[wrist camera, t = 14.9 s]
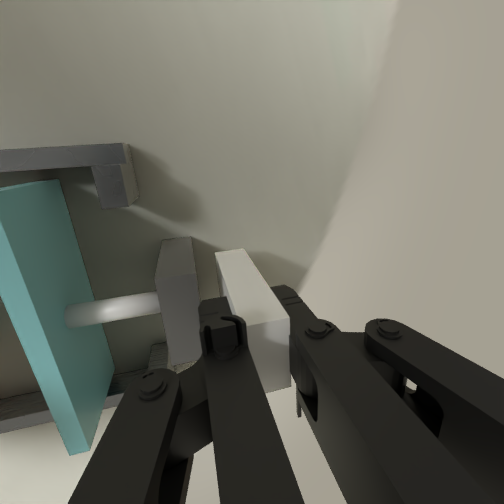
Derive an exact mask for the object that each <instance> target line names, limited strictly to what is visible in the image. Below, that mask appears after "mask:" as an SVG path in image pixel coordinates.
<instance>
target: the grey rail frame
mask: <svg viewBox="0 0 504 504" xmlns="http://www.w3.org/2000/svg"><path fill="white" fill-rule="evenodd" d="M96 165H98V166H96ZM82 166H91V169H92V173H93V177H94V181H95V185H96V188H97V192H98V196H99V200H100V204H101V208H102V209H111V208H121V207H129V206H130V205H131V204H132V203H133V202H134V201H135V200H136V199H137V198H138V197H139V192H138V187H137V182H136V177H135V172H134V167H133V162H132V157H131V153H130V148H129V144H125V143H114V144H97V145H79V146H61V147H43V148H26V149H8V150H0V172H10V171H25V170H39V169H53V168H67V167H82ZM158 368H165V369H170V370H172V371H174V372H175V369H174V365H173V366H172V364H171V359H170V354H169V349H168V344H167V342H165V343H160V344H155V345H152V347H151V353H150V360H149V367H148V368H146V369H141V370H137V371H132V372H127V373H123V374H118V375H113V377H112V380H111V383H110V386H109V390H108V393H107V396H106V399H105V403H104V406H103V409H107V408H111V407H115V406H118V405H119V403H120V401H121V399H122V397H123V395H124V393H125V391H126V389H127V388H128V386H129V385H130V384H131V382H132V381H133V380H134V379H136V378H137V377H138V376H140V375H141V374H143V373H145V372H147V371H150V370H153V369H158ZM103 409H102V410H103ZM52 421H54V419H53V416H52V414H51V412H50V409H49V407H48V405H47V403H46V400H45V398H44V396H43V393H42V391H38V392H34V393H29V394H24V395H20V396H15V397H10V398H6V399H1V400H0V434H1V433H5V432H9V431H13V430H18V429H22V428H26V427H30V426H35V425H39V424H43V423H47V422H52Z"/></svg>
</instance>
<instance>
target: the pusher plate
mask: <svg viewBox="0 0 504 504" xmlns="http://www.w3.org/2000/svg"><path fill="white" fill-rule="evenodd" d="M154 281H155V286H156V291H153V292H147V293H140V294H134V295H128V296H122V297H116V298H109V299H103V300H97V301H95V299H94V296H93V292H92V289H91V286H90V282H89V279H88V276H87V272H86V269H85V266H84V262H83V259H82V255H81V252H80V249H79V245H78V242H77V239H76V235H75V232H74V229H73V225H72V222H71V218H70V215H69V212H68V208H67V205H66V202H65V198H64V195H63V192H62V188H61V185H60V182H59V179H52V180H40V181H34V182H29V183H23V184H18V185H13V186H8V187H2V188H0V296H1V298H2V300H3V303H4V305H5V307H6V310H7V312H8V314H9V317H10V319H11V321H12V324H13V326H14V328H15V331H16V333H17V335H18V338H19V340H20V342H21V345H22V347H23V349H24V351H25V354H26V356H27V358H28V361H29V363H30V365H31V368H32V370H33V372H34V375H35V377H36V379H37V382H38V384H39V386H40V389H41V391H42V393H43V396H44V398H45V400H46V403H47V405H48V407H49V409H50V412H51V414H52V416H53V419H54V421H55V423H56V426H57V428H58V430H59V433H60V435H61V437H62V440H63V442H64V444H65V447H66V449H67V451H68V454H69V456H71V455H74V454H78V453H82V452H86V451H90V449H91V445H92V442H93V439H94V435H95V432H96V429H97V426H98V422H99V419H100V416H101V413H102V409H103V406H104V403H105V399H106V396H107V393H108V390H109V386H110V383H111V380H112V377H113V373H114V370H115V366H114V363H113V360H112V356H111V353H110V349H109V346H108V343H107V339H106V336H105V333H104V329H103V326H102V323H105V322H111V321H116V320H122V319H128V318H133V317H139V316H144V315H150V314H156V313H161V315H162V320H163V325H164V330H165V334H166V339H167V344H168V349H169V354H170V359H171V364H172V366H173V365H178V364H182V363H187V362H192V361H196V360H199V358H200V357H201V354H202V348H201V342H200V335H199V330H200V322H199V313H198V307H199V305H200V303H201V302H200V295H199V288H198V281H197V274H196V268H195V261H194V254H193V247H192V240H191V237H183V238H175V239H168V240H162V244H161V249H160V254H159V259H158V263H157V268H156V273H155V278H154Z"/></svg>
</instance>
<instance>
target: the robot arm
mask: <svg viewBox="0 0 504 504" xmlns="http://www.w3.org/2000/svg"><path fill="white" fill-rule="evenodd" d="M215 259H216V267H217V276H218V284H219V292H220V297H218V298H213V299H207V300H202V302H201V303H200V305H199V307H198V313H199V322H200V330H199V335H200V342H201V348H202V354H201V357H200V358H199V360H198V361H197V362H196V363H195V364H194V365H193V366H191V367H190V368H188V369H186V370H185V371H183V372H181V373H178V374H176V372H174V371H172V370H170V369H165V368H158V369H153V370H150V371H147V372H145V373H143V374H141V375H140V376H138V377H137V378H136V379H134V380H133V381H132V382H131V384H130V385H129V386H128V388H127V389H126V391H125V393H124V395H123V397H122V399H121V401H120V403H119V405H118V407H117V408H116V410H115V412H114V414H113V416H112V418H111V420H110V422H109V424H108V426H107V428H106V430H105V432H104V434H103V436H102V438H101V440H100V442H99V443H98V445H97V447H96V449H95V451H94V453H93V455H92V457H91V459H90V461H89V463H88V465H87V467H86V469H85V471H84V473H83V475H82V477H81V478H80V480H79V482H78V484H77V486H76V488H75V490H74V492H73V494H72V496H71V498H70V500H69V502H68V504H185V502H186V496H187V491H188V485H189V480H190V474H191V469H192V464H193V458H194V453H196V452H197V451H199V450H200V449H202V448H203V447H205V446H206V445H208V444H209V443H211V442H212V441H213V446H214V454H215V463H216V471H217V480H218V488H219V497H220V504H305V503H304V501H303V498H302V495H301V492H300V489H299V487H298V484H297V481H296V478H295V475H294V473H293V470H292V467H291V464H290V461H289V459H288V456H287V453H286V450H285V448H284V445H283V442H282V439H281V436H280V434H279V431H278V428H277V425H276V423H275V420H274V417H273V414H272V411H271V409H270V406H269V403H268V400H267V398H266V395H265V393H268V392H272V391H276V390H279V389H284V388H288V387H291V375H292V377H293V379H294V380H295V383H296V399H297V415H298V417H301V408H302V410H303V412H304V414H305V416H306V418H307V420H308V422H309V424H310V426H311V429H312V430H313V433H314V435H315V437H316V439H317V441H318V443H319V445H320V447H321V450H322V451H323V454H324V456H325V458H326V460H327V462H328V464H329V466H330V469H331V471H332V473H333V475H334V477H335V479H336V481H337V483H338V485H339V488H340V490H341V491H342V494H343V496H344V498H345V500H346V502H347V504H504V379H503V378H501V377H499V376H497V375H496V374H494V373H492V372H490V371H488V370H486V369H485V368H483V367H481V366H479V365H477V364H476V363H474V362H472V361H470V360H468V359H466V358H464V357H463V356H461V355H459V354H457V353H455V352H454V351H452V350H450V349H448V348H446V347H444V346H442V345H441V344H439V343H437V342H435V341H433V340H431V339H430V338H428V337H426V336H424V335H422V334H421V333H419V332H417V331H415V330H413V329H411V328H410V327H408V326H406V325H404V324H402V323H399V322H397V321H395V320H390V319H374V320H371V321H369V322H368V323H367V324H366V327H365V332H363V333H362V332H358V333H357V332H341V331H340V330H339V329H338V328H337V327H336V326H335V325H334V324H332V323H331V322H329V321H326V320H322V319H318V318H317V317H316V316H315V315H314V314H313V312H312V311H311V310H310V309H309V308H308V307H307V305H306V304H305V303H304V302H303V300H302V299H301V298H300V297H299V296H298V294H297V293H296V292H295V291H294V290H293V289H291V288H290V287H288V286H286V285H281V286H275V287H269V286H268V284H267V283H266V281H265V280H264V278H263V277H262V275H261V274H260V272H259V271H258V269H257V268H256V266H255V265H254V263H253V262H252V260H251V259H250V257H249V256H248V254H247V253H246V251H245V250H244V248H242V249H235V250H228V251H221V252H215ZM407 378H408V379H409V380H411V381H412V382H413V383H415V384H416V385H417V388H416V390H412V389H410V388H408V387H407V386H406V382H407Z"/></svg>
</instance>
